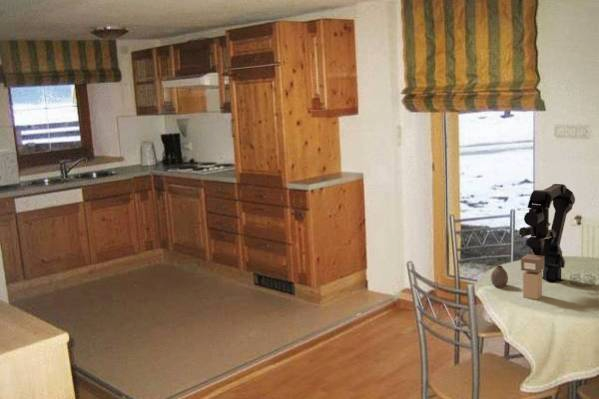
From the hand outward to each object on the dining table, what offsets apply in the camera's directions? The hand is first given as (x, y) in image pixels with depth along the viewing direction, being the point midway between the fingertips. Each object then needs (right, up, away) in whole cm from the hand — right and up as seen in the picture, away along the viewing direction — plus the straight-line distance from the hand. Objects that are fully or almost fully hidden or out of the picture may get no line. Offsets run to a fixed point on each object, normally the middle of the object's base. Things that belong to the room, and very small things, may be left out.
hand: (540, 257), depth 262 cm
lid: (-7, -4, -9) cm, 11 cm away
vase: (-15, -13, +8) cm, 21 cm away
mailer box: (-6, -15, -6) cm, 17 cm away
